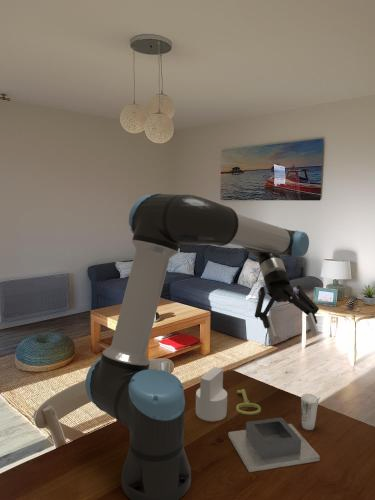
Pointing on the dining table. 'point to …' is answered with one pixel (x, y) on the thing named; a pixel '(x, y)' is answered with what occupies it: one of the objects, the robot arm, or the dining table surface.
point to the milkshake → (309, 410)
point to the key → (247, 404)
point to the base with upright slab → (211, 396)
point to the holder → (271, 445)
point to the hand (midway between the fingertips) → (295, 336)
